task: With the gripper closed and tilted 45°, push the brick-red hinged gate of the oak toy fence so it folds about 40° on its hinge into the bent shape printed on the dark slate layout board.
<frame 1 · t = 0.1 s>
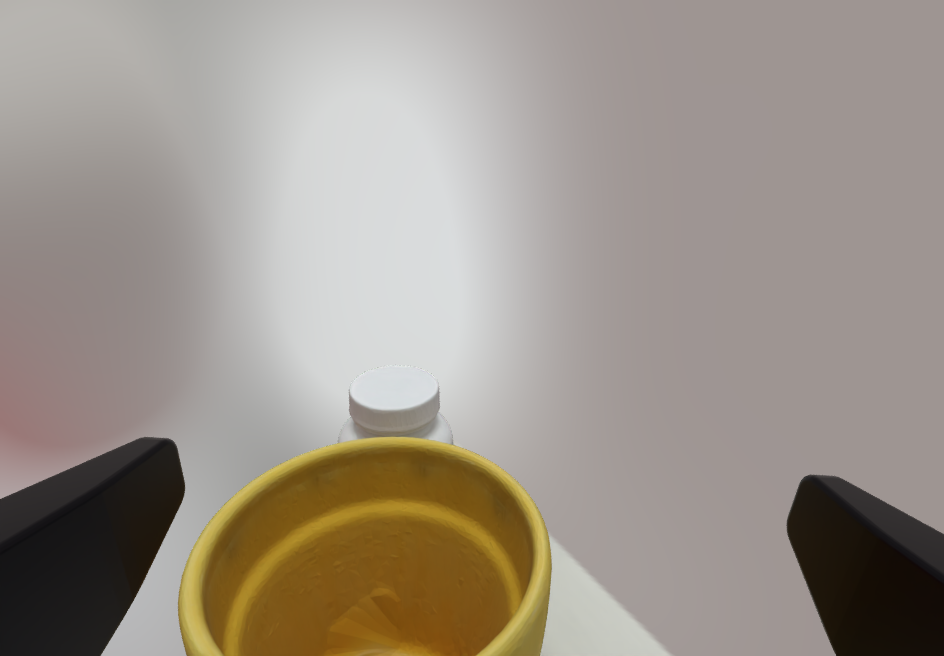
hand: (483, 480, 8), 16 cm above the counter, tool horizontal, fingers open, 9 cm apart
supplement bottle: (399, 548, 28), on the counter
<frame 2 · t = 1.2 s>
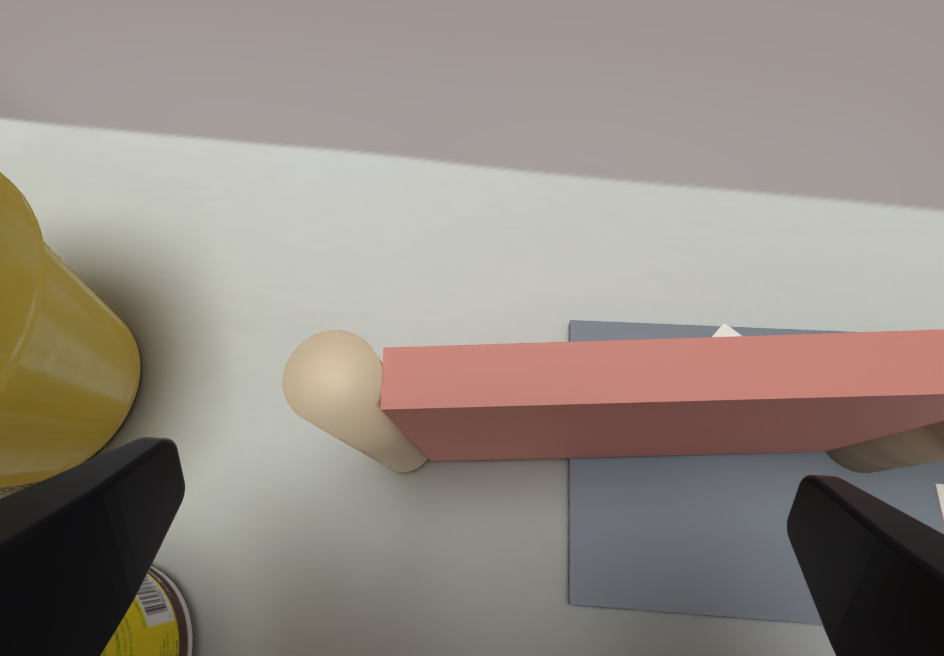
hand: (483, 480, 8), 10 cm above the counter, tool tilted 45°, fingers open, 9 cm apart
supplement bottle 2: (117, 655, 16), on the counter
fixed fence: (848, 436, 17), resting in layout board
layout board: (903, 470, 17), on the counter
fence gate: (616, 412, 13), point 5 cm above the counter, hinge at -4.7°
plant pot: (54, 390, 20), on the counter
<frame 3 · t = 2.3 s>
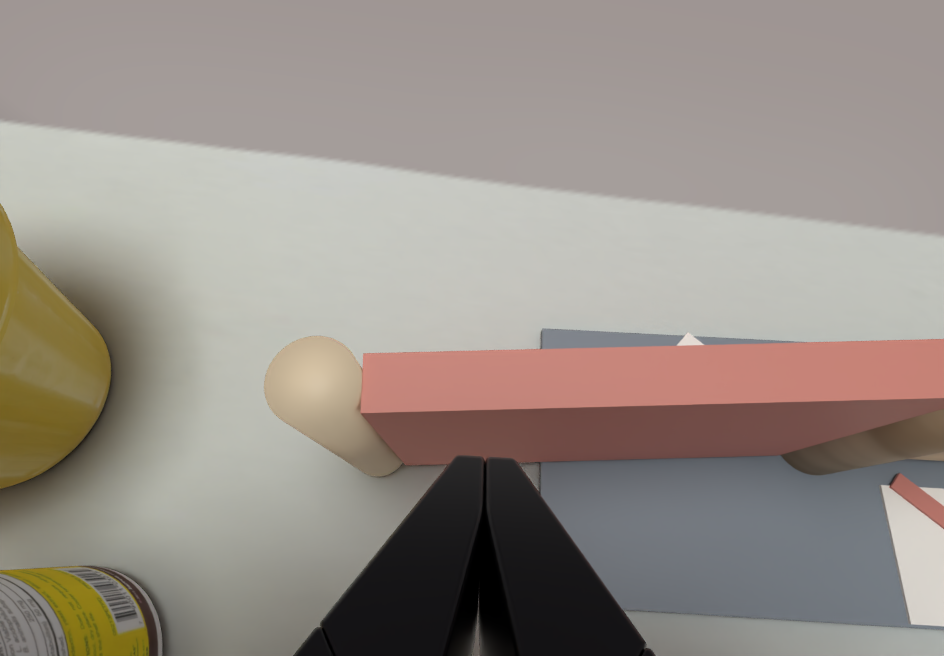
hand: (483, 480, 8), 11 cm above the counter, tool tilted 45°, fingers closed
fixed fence: (802, 440, 18), resting in layout board
layout board: (852, 473, 18), on the counter
fence gate: (585, 417, 14), point 5 cm above the counter, hinge at -4.7°
plant pot: (20, 395, 19), on the counter
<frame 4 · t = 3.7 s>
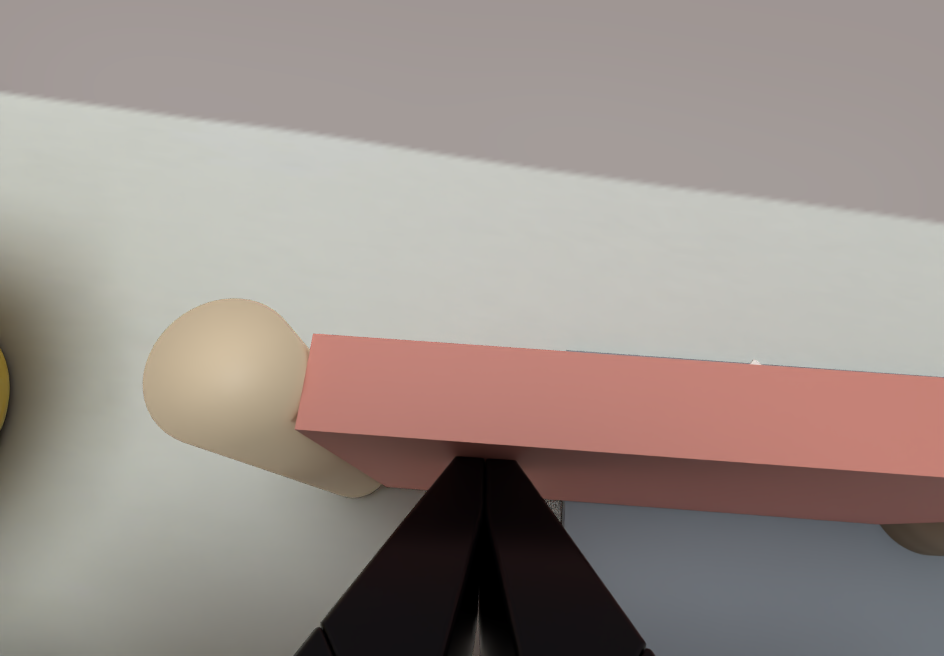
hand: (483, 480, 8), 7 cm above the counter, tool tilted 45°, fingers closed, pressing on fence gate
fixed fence: (905, 505, 14), resting in layout board
fence gate: (637, 455, 10), point 5 cm above the counter, hinge at -0.1°, touching gripper
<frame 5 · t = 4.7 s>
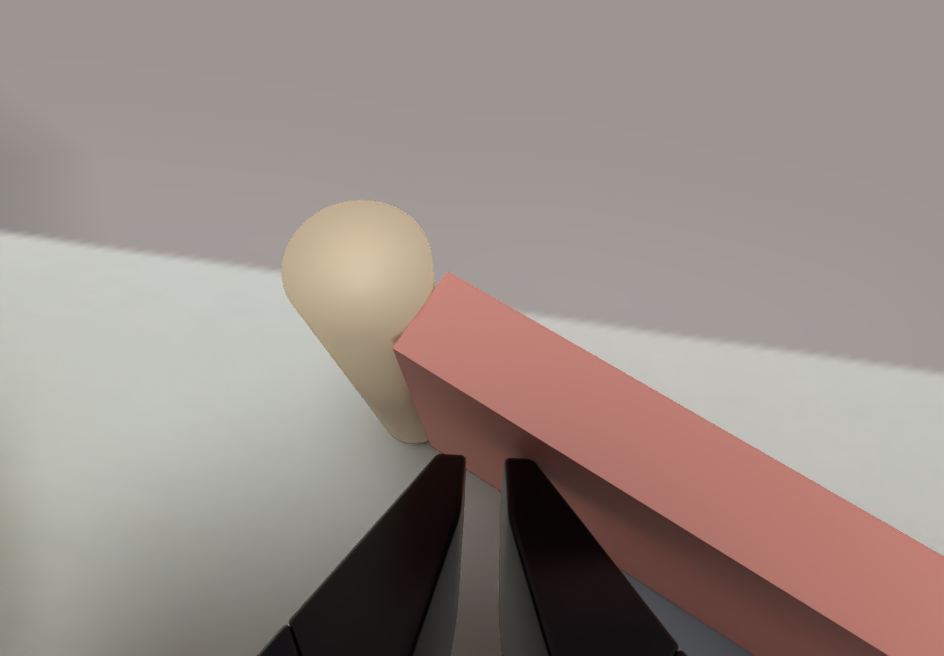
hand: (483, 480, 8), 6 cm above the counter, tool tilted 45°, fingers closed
fence gate: (687, 543, 9), point 5 cm above the counter, hinge at 28.4°, touching gripper
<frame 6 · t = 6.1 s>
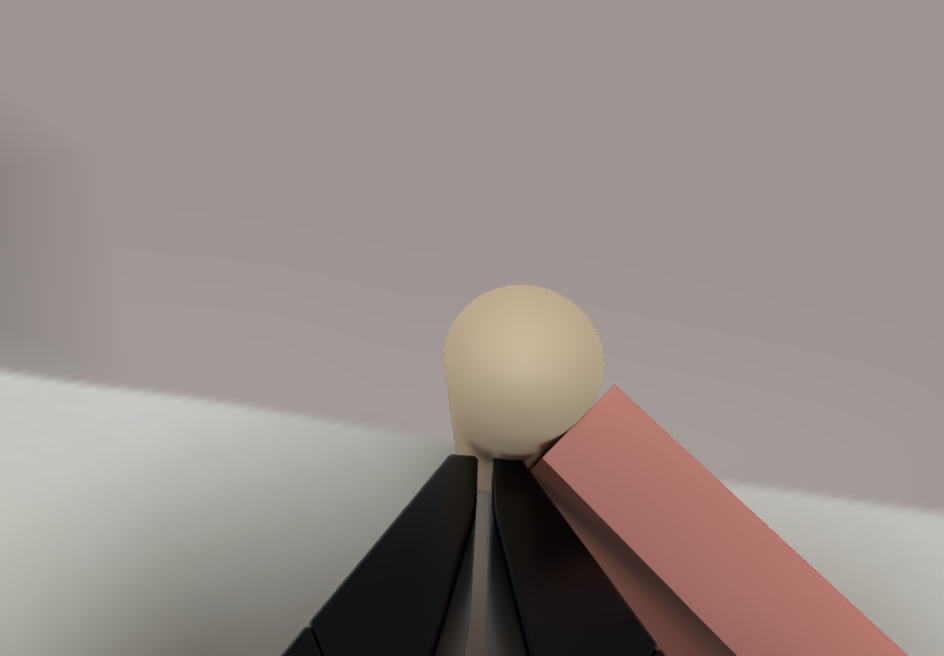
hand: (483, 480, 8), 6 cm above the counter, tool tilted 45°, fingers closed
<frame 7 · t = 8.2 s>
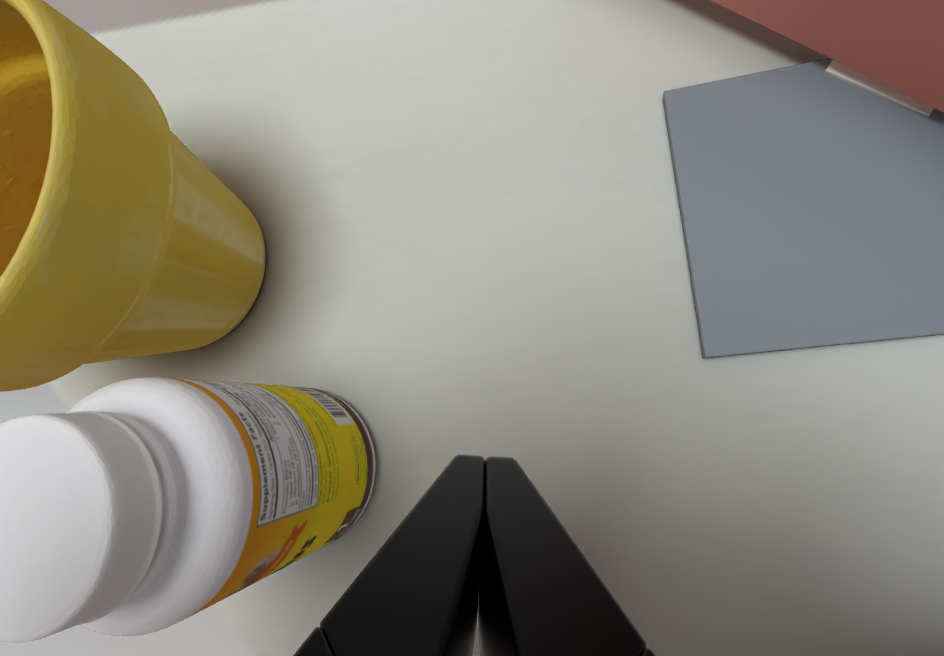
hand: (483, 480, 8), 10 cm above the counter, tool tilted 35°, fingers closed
supplement bottle 2: (313, 465, 20), on the counter
plant pot: (196, 270, 22), on the counter
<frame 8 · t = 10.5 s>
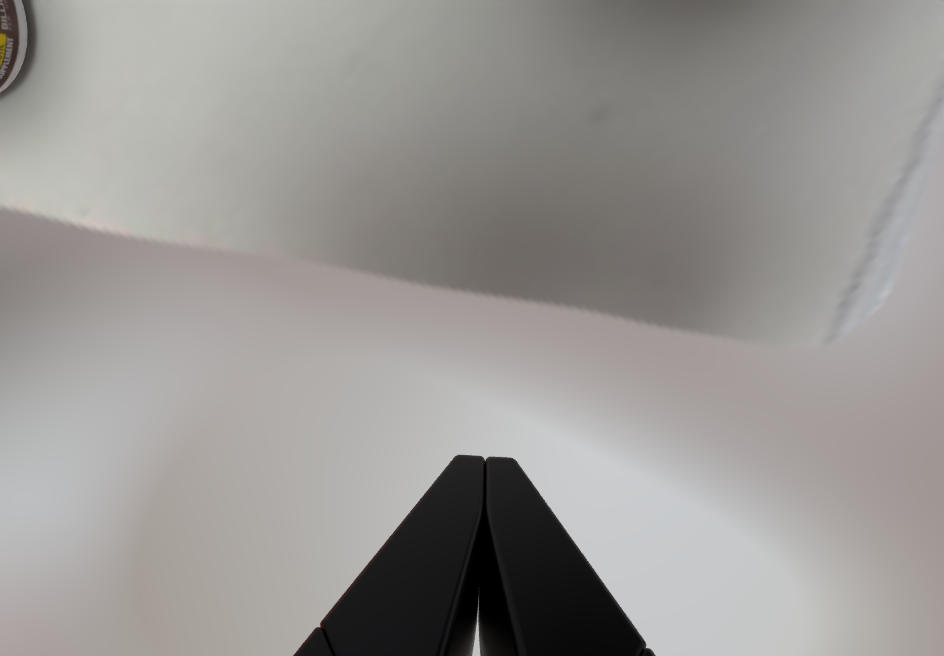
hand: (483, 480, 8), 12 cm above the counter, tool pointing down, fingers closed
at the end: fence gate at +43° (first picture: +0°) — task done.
